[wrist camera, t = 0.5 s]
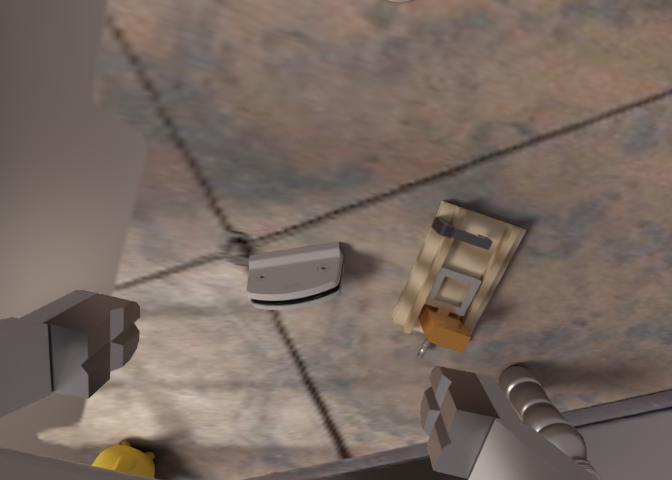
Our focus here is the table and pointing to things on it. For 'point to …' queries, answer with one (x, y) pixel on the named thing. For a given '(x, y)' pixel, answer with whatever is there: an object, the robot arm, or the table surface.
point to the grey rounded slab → (295, 277)
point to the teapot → (127, 460)
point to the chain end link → (447, 314)
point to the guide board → (458, 266)
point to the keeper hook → (460, 234)
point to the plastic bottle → (543, 414)
